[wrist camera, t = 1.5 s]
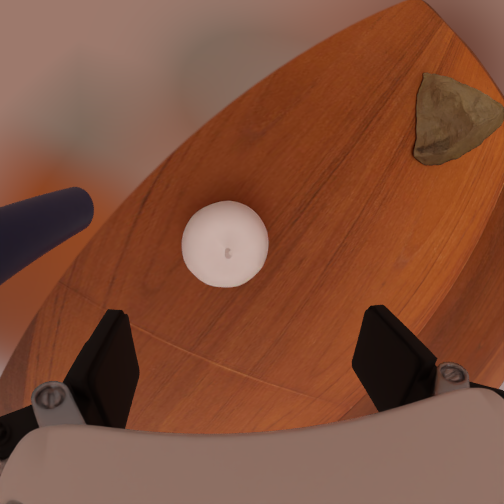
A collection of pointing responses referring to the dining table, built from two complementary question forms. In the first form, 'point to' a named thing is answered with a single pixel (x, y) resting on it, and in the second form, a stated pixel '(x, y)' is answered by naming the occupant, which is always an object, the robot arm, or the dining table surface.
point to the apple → (225, 244)
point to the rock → (452, 119)
